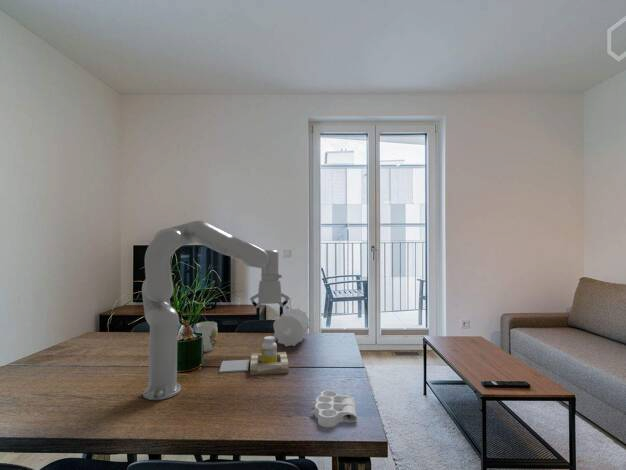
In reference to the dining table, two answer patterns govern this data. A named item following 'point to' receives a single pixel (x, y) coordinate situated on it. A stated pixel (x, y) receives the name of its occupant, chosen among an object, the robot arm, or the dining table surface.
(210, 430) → the dining table surface
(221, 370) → the grey mat
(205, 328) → the pitcher
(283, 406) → the dining table surface
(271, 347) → the supplement bottle
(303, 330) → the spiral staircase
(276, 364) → the cup holder
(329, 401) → the white scalloped holder tray
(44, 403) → the dining table surface
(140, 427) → the dining table surface
